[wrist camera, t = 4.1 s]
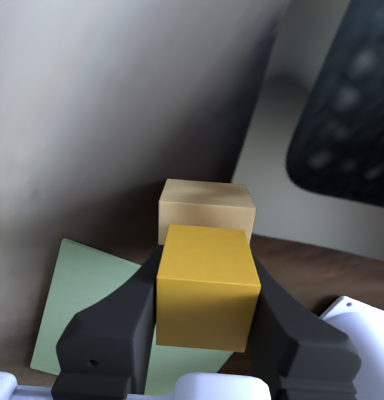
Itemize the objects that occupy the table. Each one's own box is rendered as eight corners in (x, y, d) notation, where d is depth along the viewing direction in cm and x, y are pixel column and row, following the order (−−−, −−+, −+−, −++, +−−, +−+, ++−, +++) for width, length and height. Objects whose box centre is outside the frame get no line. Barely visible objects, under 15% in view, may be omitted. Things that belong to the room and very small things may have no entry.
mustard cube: (244, 229, 14) (261, 285, 10) (234, 286, 16) (244, 352, 12) (169, 223, 14) (156, 277, 10) (167, 281, 16) (155, 345, 12)
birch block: (245, 184, 18) (256, 208, 15) (234, 249, 21) (241, 283, 17) (167, 178, 18) (158, 201, 15) (165, 243, 21) (157, 276, 17)
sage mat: (264, 310, 24) (265, 313, 24) (185, 407, 32) (184, 410, 32) (64, 237, 21) (61, 240, 21) (31, 364, 29) (29, 367, 29)
